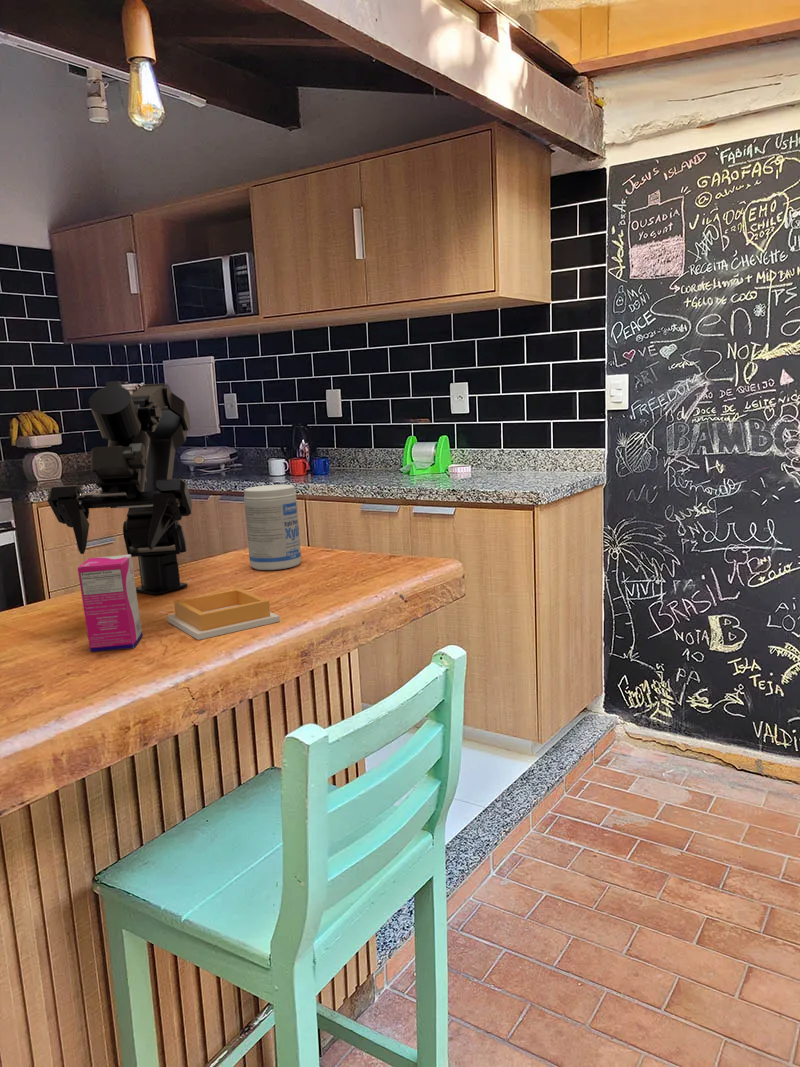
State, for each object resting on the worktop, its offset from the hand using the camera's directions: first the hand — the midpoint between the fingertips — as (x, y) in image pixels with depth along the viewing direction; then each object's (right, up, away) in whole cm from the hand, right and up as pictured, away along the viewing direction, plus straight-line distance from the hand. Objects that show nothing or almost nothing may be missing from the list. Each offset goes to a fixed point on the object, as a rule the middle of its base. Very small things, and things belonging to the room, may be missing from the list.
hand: (115, 550), depth 111 cm
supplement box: (+1, -13, -3) cm, 13 cm away
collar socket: (+13, -10, +5) cm, 18 cm away
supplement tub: (+16, -4, +40) cm, 44 cm away
